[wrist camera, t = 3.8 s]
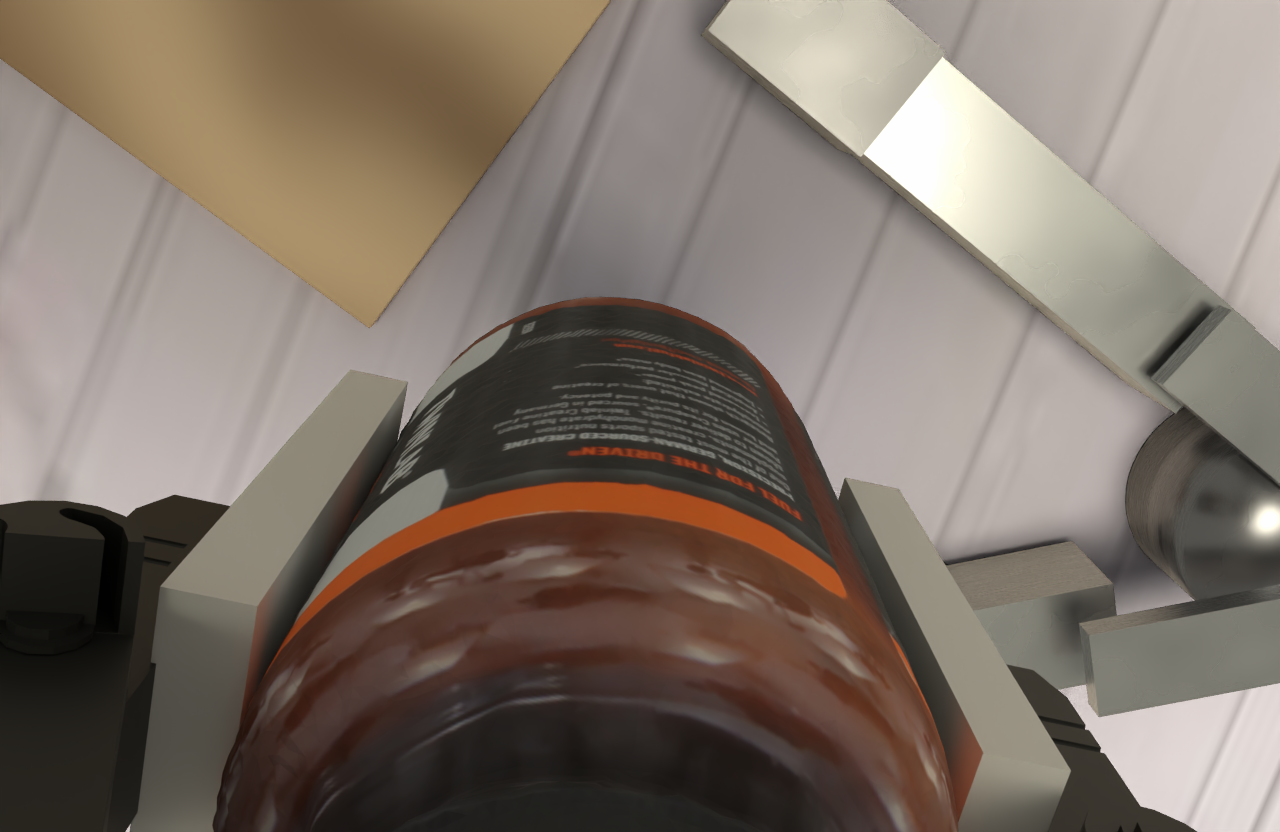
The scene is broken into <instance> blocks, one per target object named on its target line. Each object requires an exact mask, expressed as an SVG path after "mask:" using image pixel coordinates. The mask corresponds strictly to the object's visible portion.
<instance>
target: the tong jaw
mask: <svg viewBox="0 0 1280 832" xmlns="http://www.w3.org/2000/svg"><path fill="white" fill-rule="evenodd" d="M946 567H947V569H948V570H949V572H950V574H951V575H952V577H953V579H954V580H955V582H956V583H957V585H958V587H959V588H960V590H961V592H962V593H963V595H964V597H965V598H966V600H967V601H968V603H969V605H970V606H971V608H972V610H973V611H974V613H975V615H976V616H977V618H978V619H979V621H980V623H981V624H982V626H983V628H984V629H985V631H986V633H987V634H988V636H989V637H990V639H991V641H992V642H993V644H994V646H995V647H996V649H997V650H998V652H999V654H1000V655H1001V657H1002V659H1003V660H1004V662H1005V664H1007V665H1012V666H1017V667H1021V668H1026V669H1031V670H1034V671H1035V672H1036V673H1038V674H1039V675H1040V676H1041V677H1043V678H1044V679H1045V680H1046V681H1047V682H1049V683H1050V684H1051V685H1052V686H1054V687H1055V688H1056V689H1057V690H1058V689H1064V688H1069V687H1074V686H1079V685H1085V684H1086V686H1087V694H1088V703H1089V705H1090V706H1091V707H1092V709H1093V710H1094V711H1095V713H1096V714H1097V715H1098V717H1102V716H1108V715H1113V714H1118V713H1123V712H1129V711H1134V710H1139V709H1145V708H1150V707H1155V706H1161V705H1166V704H1171V703H1176V702H1182V701H1187V700H1192V699H1198V698H1203V697H1208V696H1214V695H1219V694H1224V693H1229V692H1235V691H1240V690H1245V689H1251V688H1256V687H1261V686H1267V685H1272V684H1277V683H1280V584H1279V585H1274V586H1269V587H1264V588H1258V589H1253V590H1248V591H1243V592H1238V593H1233V594H1227V595H1222V596H1217V597H1212V598H1207V599H1201V600H1196V601H1191V602H1186V603H1181V604H1175V605H1170V606H1165V607H1160V608H1155V609H1150V610H1144V611H1139V612H1134V613H1129V614H1124V615H1118V616H1117V614H1116V605H1115V596H1114V587H1113V583H1112V582H1111V581H1110V580H1109V579H1108V578H1107V577H1106V576H1105V575H1104V574H1103V573H1102V572H1101V571H1100V569H1099V568H1098V567H1097V566H1096V565H1095V564H1094V563H1093V562H1092V561H1091V560H1090V559H1089V558H1088V557H1087V556H1086V555H1085V554H1084V553H1083V552H1082V551H1081V550H1080V549H1079V548H1078V547H1077V545H1076V544H1075V543H1074V542H1073V541H1069V542H1064V543H1059V544H1054V545H1048V546H1043V547H1038V548H1033V549H1028V550H1023V551H1018V552H1013V553H1008V554H1003V555H998V556H992V557H987V558H982V559H977V560H972V561H967V562H962V563H957V564H952V565H947V566H946Z"/></svg>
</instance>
